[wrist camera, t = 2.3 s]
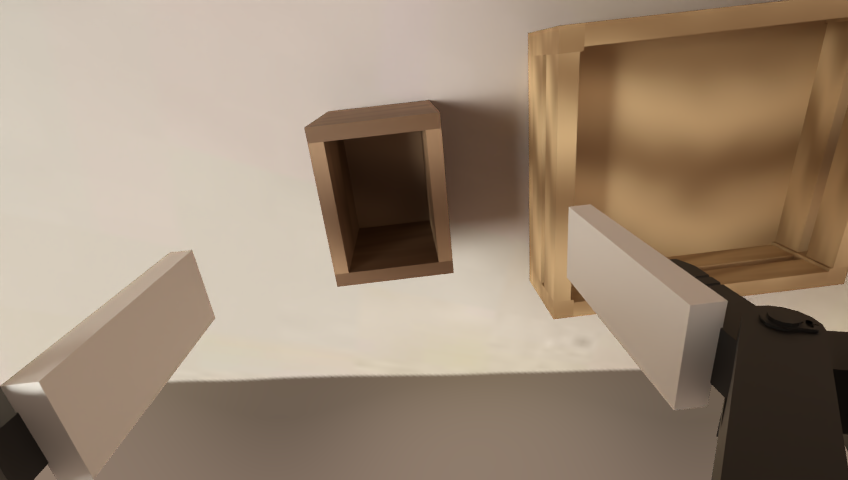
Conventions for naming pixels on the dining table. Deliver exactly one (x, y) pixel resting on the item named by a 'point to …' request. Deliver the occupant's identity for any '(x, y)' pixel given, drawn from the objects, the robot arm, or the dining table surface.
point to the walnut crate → (382, 191)
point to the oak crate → (696, 142)
